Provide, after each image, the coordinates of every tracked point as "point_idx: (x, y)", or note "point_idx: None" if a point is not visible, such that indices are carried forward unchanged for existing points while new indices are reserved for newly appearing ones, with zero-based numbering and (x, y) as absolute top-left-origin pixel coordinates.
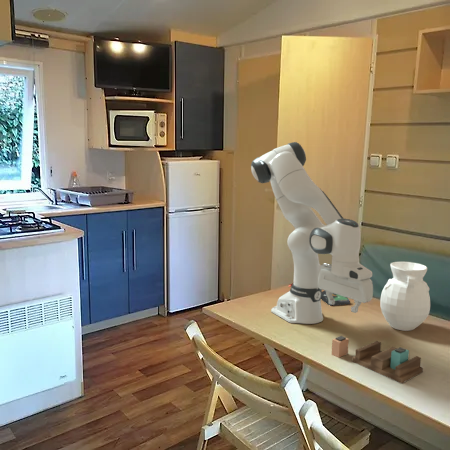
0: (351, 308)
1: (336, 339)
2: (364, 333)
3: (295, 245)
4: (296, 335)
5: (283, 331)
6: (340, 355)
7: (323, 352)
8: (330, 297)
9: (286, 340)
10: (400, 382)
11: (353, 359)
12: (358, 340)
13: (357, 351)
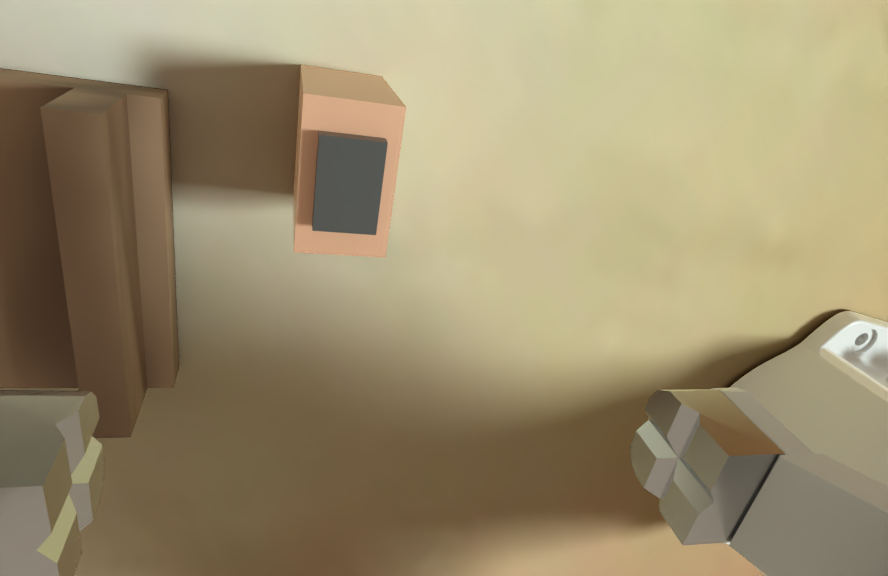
0: (49, 447)
1: (371, 136)
2: (401, 523)
3: None
4: (750, 179)
5: (851, 166)
6: (299, 95)
7: (455, 62)
8: (807, 516)
9: (792, 36)
10: None
11: (151, 93)
12: (371, 429)
13: (77, 108)
